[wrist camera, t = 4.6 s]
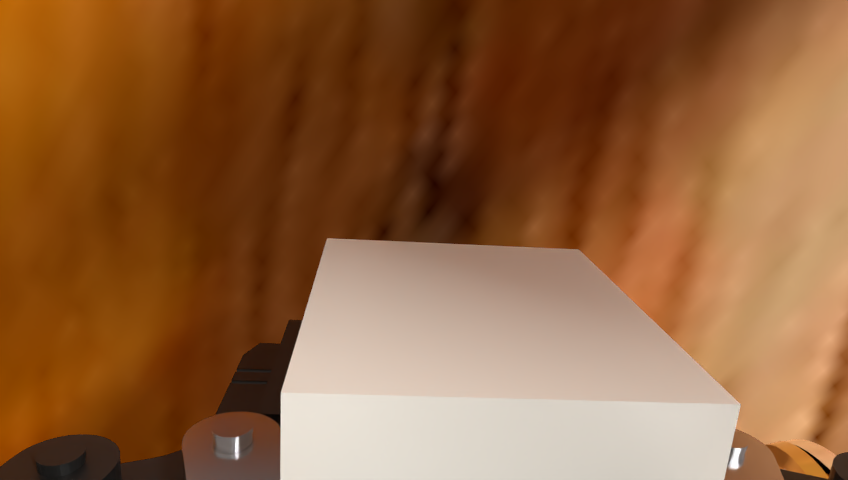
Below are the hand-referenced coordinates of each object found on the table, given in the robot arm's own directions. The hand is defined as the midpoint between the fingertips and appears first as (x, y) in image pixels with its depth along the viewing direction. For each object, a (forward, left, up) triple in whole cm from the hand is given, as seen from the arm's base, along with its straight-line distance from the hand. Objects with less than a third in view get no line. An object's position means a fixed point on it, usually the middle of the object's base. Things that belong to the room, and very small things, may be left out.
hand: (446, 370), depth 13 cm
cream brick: (0, 0, 0) cm, 0 cm away
